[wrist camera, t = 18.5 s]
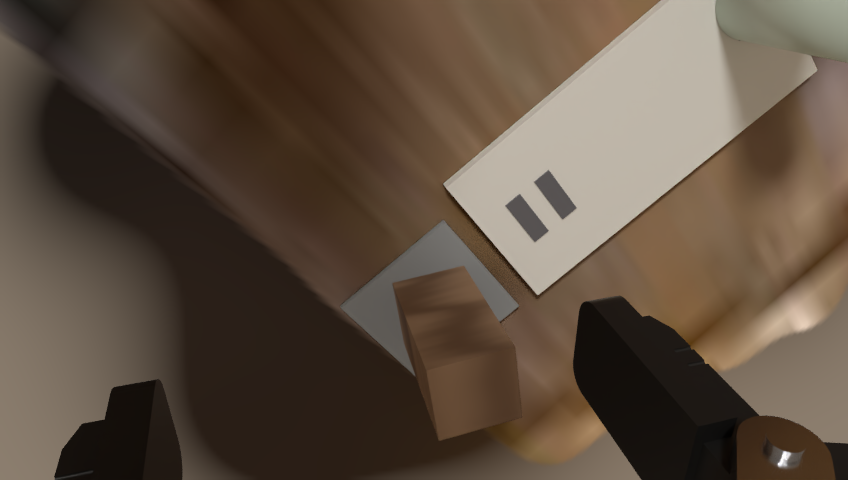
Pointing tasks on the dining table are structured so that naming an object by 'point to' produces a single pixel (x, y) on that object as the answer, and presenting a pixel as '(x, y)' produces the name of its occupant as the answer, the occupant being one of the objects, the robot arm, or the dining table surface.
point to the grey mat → (424, 257)
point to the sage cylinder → (789, 25)
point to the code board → (620, 136)
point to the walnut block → (458, 352)
